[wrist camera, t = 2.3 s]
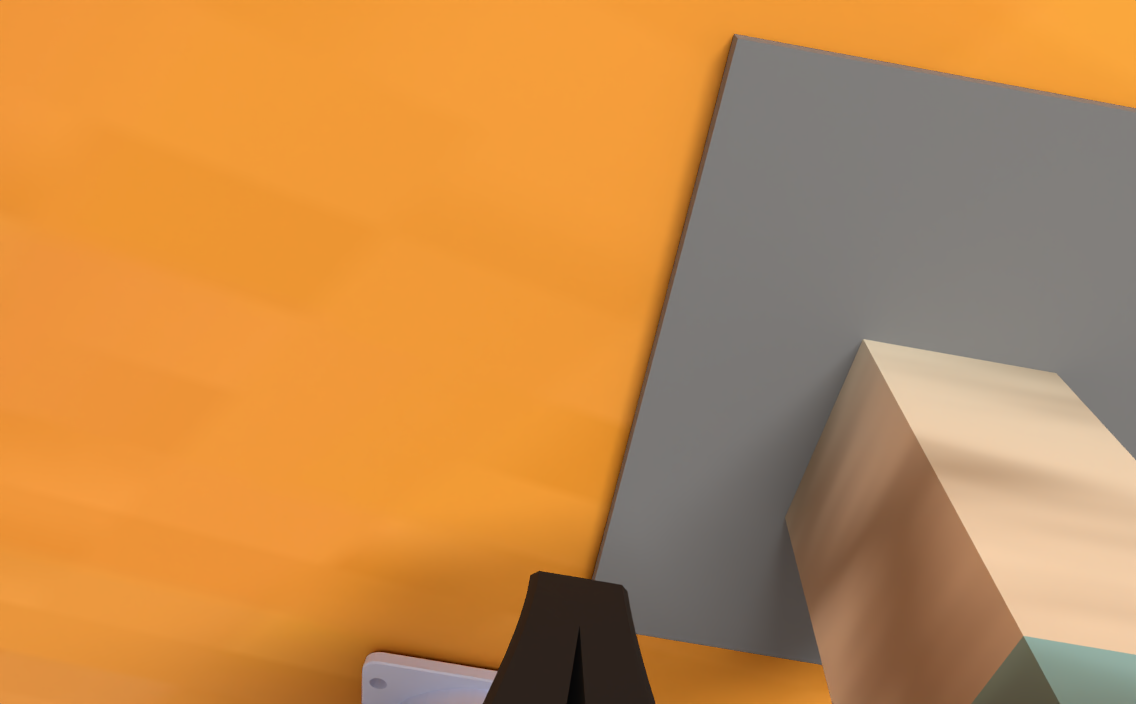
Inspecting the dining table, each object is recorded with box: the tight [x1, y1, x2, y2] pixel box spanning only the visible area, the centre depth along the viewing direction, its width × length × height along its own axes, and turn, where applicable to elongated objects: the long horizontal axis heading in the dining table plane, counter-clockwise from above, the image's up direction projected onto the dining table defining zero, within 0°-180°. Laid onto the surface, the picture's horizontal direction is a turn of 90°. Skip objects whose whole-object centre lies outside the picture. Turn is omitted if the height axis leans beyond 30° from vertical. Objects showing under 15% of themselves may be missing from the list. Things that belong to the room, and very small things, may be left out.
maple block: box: [785, 339, 1136, 704], centre depth 13 cm, size 5×4×8 cm
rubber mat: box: [592, 34, 1136, 665], centre depth 16 cm, size 15×18×1 cm
